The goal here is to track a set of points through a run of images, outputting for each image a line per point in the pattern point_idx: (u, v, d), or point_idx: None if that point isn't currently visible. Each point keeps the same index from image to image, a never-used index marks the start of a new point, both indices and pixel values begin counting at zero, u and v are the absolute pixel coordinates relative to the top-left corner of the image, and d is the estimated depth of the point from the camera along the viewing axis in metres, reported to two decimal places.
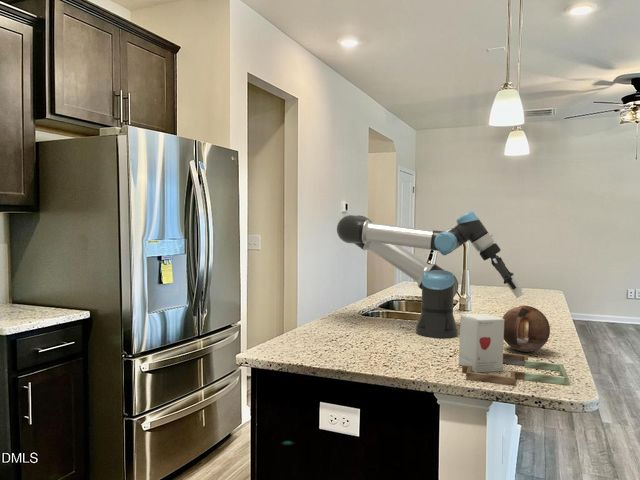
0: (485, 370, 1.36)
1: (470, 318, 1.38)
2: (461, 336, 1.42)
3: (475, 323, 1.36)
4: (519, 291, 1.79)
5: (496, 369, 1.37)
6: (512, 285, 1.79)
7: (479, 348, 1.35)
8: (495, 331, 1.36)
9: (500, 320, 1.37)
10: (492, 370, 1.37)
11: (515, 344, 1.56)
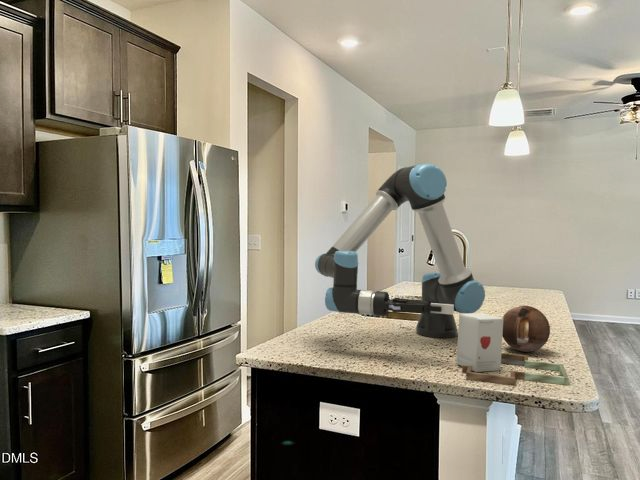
0: (485, 370, 1.36)
1: (470, 317, 1.38)
2: (459, 335, 1.42)
3: (476, 322, 1.36)
4: None
5: (495, 368, 1.37)
6: None
7: (480, 347, 1.35)
8: (494, 330, 1.37)
9: (499, 319, 1.37)
10: (491, 369, 1.37)
11: (515, 344, 1.56)
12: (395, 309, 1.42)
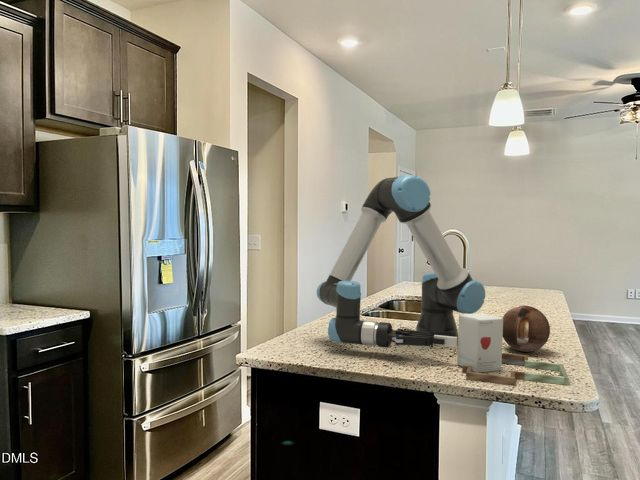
0: (486, 370, 1.36)
1: (470, 318, 1.38)
2: (460, 336, 1.42)
3: (476, 323, 1.35)
4: None
5: (495, 368, 1.37)
6: None
7: (480, 348, 1.35)
8: (494, 330, 1.37)
9: (499, 320, 1.37)
10: (492, 370, 1.37)
11: (516, 344, 1.56)
12: (398, 342, 1.42)
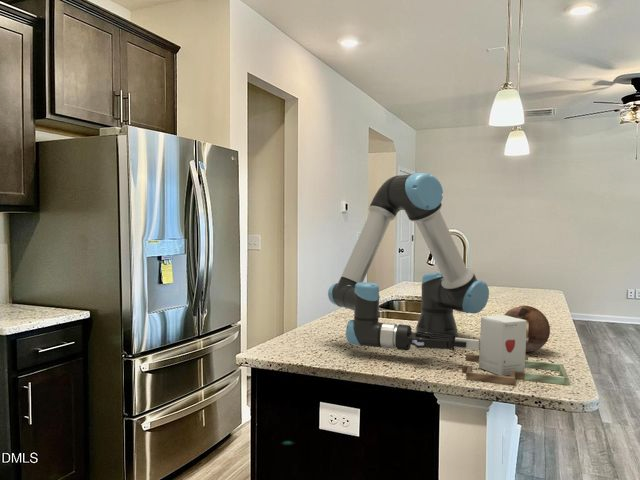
0: (510, 373, 1.34)
1: (494, 320, 1.35)
2: (482, 339, 1.39)
3: (501, 325, 1.33)
4: None
5: (519, 371, 1.35)
6: None
7: (505, 351, 1.32)
8: (518, 332, 1.34)
9: (523, 322, 1.35)
10: None
11: None
12: (419, 345, 1.39)
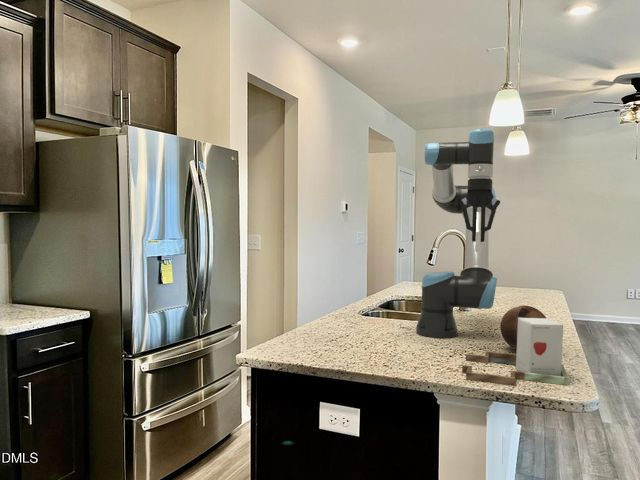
0: None
1: (525, 322, 1.34)
2: (518, 340, 1.38)
3: (529, 327, 1.32)
4: (475, 247, 1.57)
5: None
6: (472, 237, 1.58)
7: (533, 353, 1.31)
8: (551, 336, 1.31)
9: (558, 325, 1.31)
10: None
11: (515, 344, 1.56)
12: None
